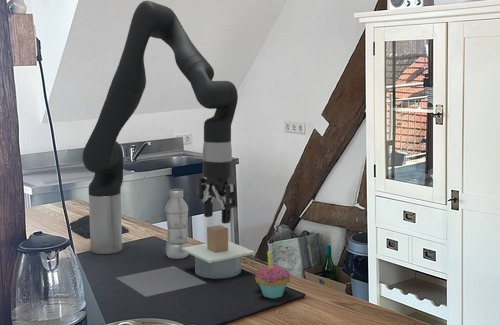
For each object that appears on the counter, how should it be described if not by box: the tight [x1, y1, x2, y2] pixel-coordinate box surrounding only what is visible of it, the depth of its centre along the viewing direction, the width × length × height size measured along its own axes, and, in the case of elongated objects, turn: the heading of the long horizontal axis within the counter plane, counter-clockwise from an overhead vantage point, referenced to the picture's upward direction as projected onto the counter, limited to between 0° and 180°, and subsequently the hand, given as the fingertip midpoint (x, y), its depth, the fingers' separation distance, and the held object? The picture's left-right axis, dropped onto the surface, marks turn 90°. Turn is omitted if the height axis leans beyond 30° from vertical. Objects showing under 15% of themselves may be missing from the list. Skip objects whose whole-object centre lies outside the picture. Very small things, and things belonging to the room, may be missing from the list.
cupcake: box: [254, 248, 291, 299], centre depth 157 cm, size 9×8×12 cm
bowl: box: [194, 256, 242, 280], centre depth 173 cm, size 12×12×6 cm
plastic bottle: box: [164, 188, 190, 260], centre depth 185 cm, size 6×7×20 cm
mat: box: [115, 265, 207, 298], centre depth 165 cm, size 17×17×1 cm
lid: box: [181, 224, 256, 263], centre depth 172 cm, size 14×14×7 cm
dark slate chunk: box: [70, 214, 129, 240], centre depth 219 cm, size 15×22×5 cm
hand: (216, 219), depth 171 cm, fingers open, 8 cm apart
